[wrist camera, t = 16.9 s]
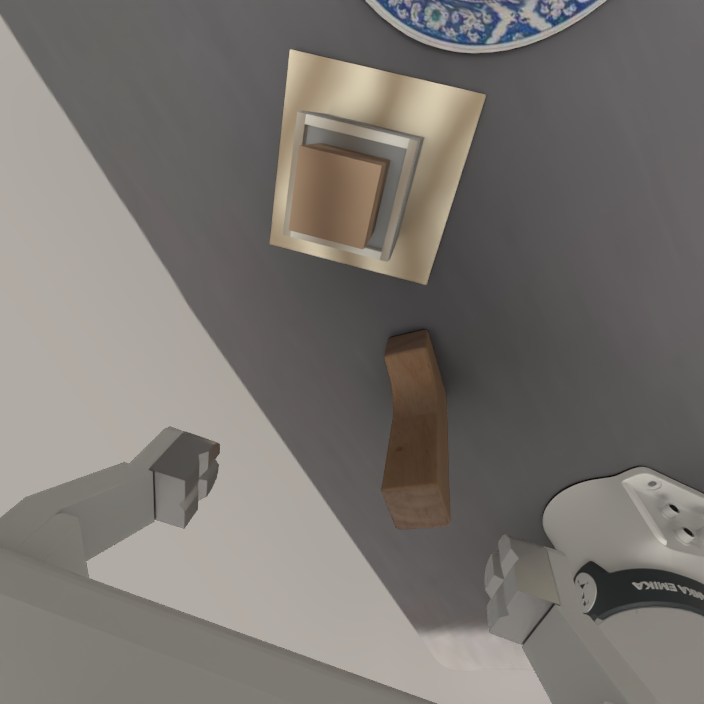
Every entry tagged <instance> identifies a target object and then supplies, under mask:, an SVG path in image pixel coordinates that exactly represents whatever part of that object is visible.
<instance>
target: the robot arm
mask: <svg viewBox="0 0 704 704" xmlns="http://www.w3.org/2000/svg"><path fill="white" fill-rule="evenodd" d="M219 453H220V444H219V443H217V442H214V441H211V440H209V439H205V438H203V437H200V436H197V435H194V434H191V433H188V432H185V431H182V430H179V429H176V428H173V427H168V428H165V429H164V430H163V431H162V432H161V433H160V434H159V435H158V436H157V437H156V438H155V439H154V440H153V441H152V442H151V443H150V444H149V445H148V446H147V447H146V448H145V449H143V451H142V452H141V453H140V454H139V455H137V457H135V458H134V459H133V460H132V461H131V462H130V463H125V462H123V463H120V464H118V465H115V466H112V467H109V468H107V469H103V470H101V471H98V472H95V473H93V474H89V475H87V476H84V477H81V478H78V479H76V480H72V481H70V482H67V483H64V484H61V485H58V486H56V487H53V488H50V489H47V490H44V491H41V492H39V493H37V494H33V495H30V496H28V497H25V498H24V499H23V500H21V501H20V502H19V503H18V504H17V505H15V506H14V507H13V508H12V509H10V510H9V511H8V512H7V513H6V514H4V515H3V516H2V517H1V518H0V704H436V703H434V702H431V701H428V700H425V699H423V698H420V697H417V696H414V695H411V694H409V693H406V692H403V691H400V690H398V689H395V688H392V687H389V686H386V685H384V684H381V683H378V682H375V681H373V680H370V679H367V678H364V677H361V676H359V675H356V674H353V673H350V672H347V671H345V670H342V669H339V668H336V667H334V666H331V665H328V664H325V663H322V662H320V661H317V660H314V659H312V658H309V657H306V656H303V655H301V654H298V653H295V652H292V651H290V650H287V649H284V648H281V647H278V646H276V645H273V644H270V643H267V642H264V641H262V640H259V639H256V638H253V637H251V636H248V635H245V634H242V633H240V632H237V631H234V630H231V629H228V628H226V627H223V626H220V625H217V624H215V623H212V622H209V621H206V620H204V619H201V618H198V617H195V616H192V615H190V614H187V613H184V612H181V611H179V610H175V609H173V608H170V607H167V606H165V605H162V604H159V603H156V602H153V601H151V600H148V599H145V598H142V597H140V596H136V595H134V594H131V593H129V592H126V591H123V590H120V589H117V588H114V587H112V586H109V585H106V584H104V583H101V582H98V581H95V580H92V579H90V578H89V575H88V569H87V563H86V561H87V560H89V559H91V558H92V557H94V556H96V555H98V554H99V553H101V552H103V551H104V550H106V549H108V548H110V547H112V546H113V545H115V544H117V543H118V542H120V541H122V540H124V539H125V538H127V537H129V536H130V535H132V534H134V533H136V532H137V531H139V530H141V529H142V528H144V527H146V526H148V525H149V524H151V523H153V522H154V520H157V521H161V522H164V523H167V524H170V525H174V526H177V527H180V528H183V529H184V528H185V527H186V525H187V524H188V523H189V521H190V519H191V518H192V517H193V515H194V514H195V513H196V511H197V509H198V501H199V500H201V499H203V498H205V497H206V496H207V495H208V494H209V492H210V490H211V489H212V487H213V485H214V482H215V480H216V478H217V473H218V467H219V465H218V463H217V461H216V460H215V459H216V457H217V456H218V455H219ZM543 527H544V531H545V533H546V535H547V536H548V538H549V539H550V541H551V542H552V544H553V545H554V547H555V549H556V550H555V549H552V548H549V547H545V546H542V545H539V544H536V543H533V542H529V541H526V540H523V539H520V538H516V537H513V536H510V535H507V534H505V535H504V536H502V537H501V539H500V541H499V542H498V545H499V551H497V552H494V553H492V554H491V556H490V558H489V560H488V562H487V566H486V570H485V590H486V592H487V593H488V595H489V596H490V598H491V600H490V602H489V603H488V605H487V616H488V627H489V633H491V634H494V635H496V636H499V637H502V638H505V639H507V640H510V641H513V642H515V643H518V644H521V645H523V646H522V648H523V650H524V652H525V654H526V656H527V658H528V659H529V661H530V663H531V665H532V667H533V669H534V671H535V673H536V674H537V676H538V678H539V680H540V682H541V684H542V686H543V687H544V689H545V691H546V693H547V695H548V696H549V699H550V701H551V702H552V704H704V494H703V493H701V492H699V491H697V490H695V489H692V488H690V487H688V486H686V485H684V484H682V483H680V482H677V481H675V480H673V479H671V478H669V477H667V476H665V475H663V474H660V473H658V472H656V471H654V470H652V469H650V468H647V467H637V468H634V469H631V470H628V471H626V472H623V473H621V474H619V475H617V476H613V477H608V478H601V479H594V480H589V481H585V482H582V483H579V484H576V485H574V486H571V487H569V488H567V489H566V490H564V491H562V492H561V493H559V494H558V495H557V496H556V497H554V498H553V499H552V500H551V502H550V503H549V504H548V506H547V507H546V509H545V512H544V515H543Z"/></svg>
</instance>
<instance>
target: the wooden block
mask: <svg viewBox="0 0 704 704" xmlns="http://www.w3.org/2000/svg"><path fill="white" fill-rule="evenodd" d="M384 360H385V364H386V367H387V370H388V374H389V377H390V381H391V388H392V395H393V419H392V426H391V432H390V438H389V445H388V451H387V457H386V464H385V470H384V476H383V483H382V489H381V493H382V495H383V498H384V500H385V503H386V505H387V507H388V510H389V512H390V515H391V517H392V520H393V522H394V525H395V527H396V528H397V529H399V530H403V529H416V528H429V527H442V526H448V525H449V523H450V490H449V458H448V422H447V395H446V392H445V388H444V385H443V381H442V378H441V374H440V371H439V367H438V364H437V360H436V357H435V353H434V350H433V346H432V343H431V339H430V336H429V332H428V331H427V330H422V331H417V332H413V333H408V334H404V335H400V336H395V337H391V338H389V339H388V342H387V346H386V350H385V354H384Z"/></svg>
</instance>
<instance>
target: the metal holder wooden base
mask: <svg viewBox="0 0 704 704" xmlns="http://www.w3.org/2000/svg"><path fill="white" fill-rule="evenodd" d="M485 97H486V95H485V94H481V93H476V92H472V91H468V90H464V89H459V88H455V87H451V86H446V85H442V84H438V83H433V82H429V81H425V80H420V79H416V78H412V77H408V76H403V75H399V74H395V73H390V72H386V71H382V70H377V69H373V68H369V67H364V66H360V65H356V64H352V63H347V62H343V61H339V60H334V59H330V58H326V57H321V56H317V55H313V54H308V53H304V52H300V51H296V50H291V49H290V54H289V64H288V73H287V83H286V93H285V102H284V112H283V121H282V131H281V141H280V150H279V160H278V169H277V179H276V189H275V198H274V208H273V218H272V227H271V237H270V244H272V245H276V246H279V247H283V248H287V249H291V250H295V251H299V252H302V253H306V254H310V255H314V256H318V257H321V258H325V259H329V260H333V261H337V262H340V263H344V264H348V265H352V266H356V267H360V268H363V269H367V270H371V271H375V272H379V273H382V274H386V275H390V276H394V277H398V278H401V279H405V280H409V281H413V282H417V283H421V284H424V285H426V284H427V281H428V278H429V275H430V272H431V268H432V265H433V262H434V259H435V256H436V253H437V249H438V246H439V243H440V240H441V237H442V234H443V230H444V227H445V224H446V221H447V218H448V215H449V211H450V208H451V205H452V202H453V199H454V196H455V192H456V189H457V186H458V183H459V180H460V177H461V173H462V170H463V167H464V164H465V161H466V157H467V154H468V151H469V148H470V145H471V142H472V138H473V135H474V132H475V129H476V126H477V123H478V119H479V116H480V113H481V110H482V107H483V104H484V100H485ZM316 143H322V144H326V145H331V146H335V147H339V148H343V149H347V150H351V151H355V152H359V153H363V154H367V155H371V156H376V157H380V158H384V159H388V160H390V165H389V169H388V173H387V178H386V182H385V186H384V191H383V195H382V199H381V204H380V208H379V212H378V217H377V221H376V225H375V230H374V233H373V235H372V236H371V238H370V239H369V241H368V243H367V244H366V246H365V247H364V249H359V248H355V247H352V246H348V245H344V244H340V243H336V242H332V241H328V240H325V239H321V238H317V237H313V236H309V235H305V234H301V233H298V232H294V231H290V230H289V223H290V215H291V207H292V199H293V191H294V183H295V175H296V167H297V159H298V151H299V145H308V144H316Z"/></svg>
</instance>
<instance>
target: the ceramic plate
mask: <svg viewBox="0 0 704 704" xmlns="http://www.w3.org/2000/svg"><path fill="white" fill-rule="evenodd" d="M365 1H366V2H367V3H368V4H369V5H370V6H371V7H372V8H373V9H374V10H375V11H376V12H377V13H378V14H379V15H380V16H381V17H383V18H384V19H385V20H386V21H387V22H389V23H390V24H391V25H392V26H394V27H395V28H397V29H398V30H400V31H401V32H403V33H404V34H406V35H408V36H410V37H412V38H414V39H416V40H418V41H420V42H422V43H424V44H427V45H429V46H433V47H437V48H441V49H445V50H449V51H454V52H463V53H490V52H497V51H505V50H510V49H514V48H518V47H522V46H526V45H528V44H531V43H534V42H537V41H539V40H542V39H545V38H547V37H549V36H551V35H553V34H555V33H557V32H559V31H561V30H563V29H565V28H567V27H569V26H570V25H572V24H574V23H575V22H577V21H579V20H580V19H582V18H583V17H585V16H586V15H588V14H589V13H590V12H592V11H593V10H594V9H596V8H597V7H598V6H600V5H601V4H602V3H604V2H605V1H606V0H365Z"/></svg>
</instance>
